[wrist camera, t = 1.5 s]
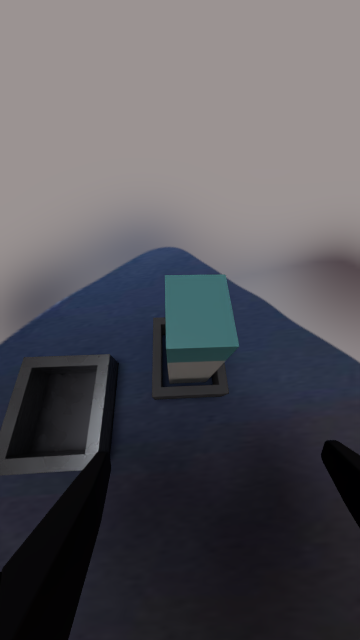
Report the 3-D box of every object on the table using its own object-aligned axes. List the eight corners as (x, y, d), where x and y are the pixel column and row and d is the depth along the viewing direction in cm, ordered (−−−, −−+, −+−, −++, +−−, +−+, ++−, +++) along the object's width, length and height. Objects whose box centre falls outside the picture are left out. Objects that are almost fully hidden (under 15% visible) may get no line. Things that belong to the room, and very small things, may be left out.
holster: (221, 396, 21) (228, 393, 18) (154, 399, 20) (152, 396, 18) (212, 327, 24) (217, 316, 22) (155, 328, 24) (153, 317, 21)
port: (109, 460, 18) (96, 469, 15) (19, 465, 18) (-15, 476, 14) (118, 363, 22) (109, 354, 19) (45, 366, 22) (23, 357, 18)
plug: (205, 381, 21) (239, 346, 11) (169, 383, 21) (166, 348, 10) (201, 339, 24) (225, 274, 13) (168, 340, 23) (165, 275, 13)
